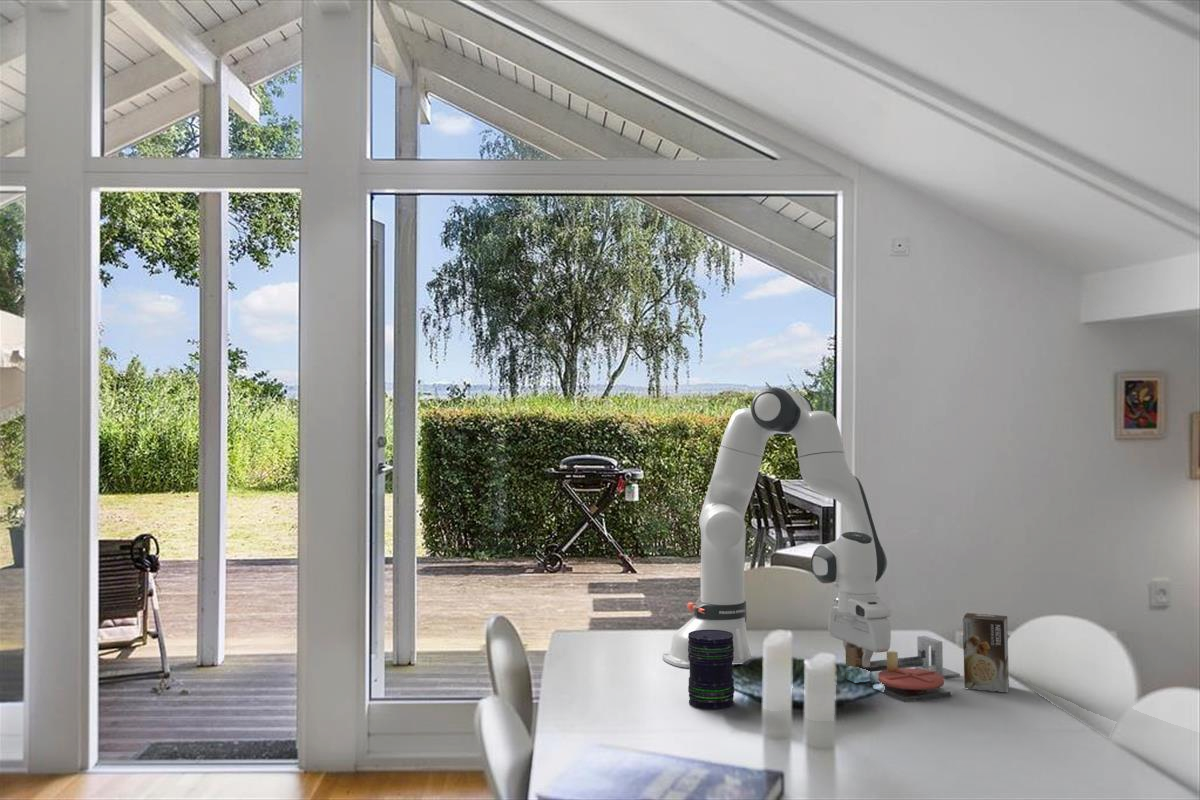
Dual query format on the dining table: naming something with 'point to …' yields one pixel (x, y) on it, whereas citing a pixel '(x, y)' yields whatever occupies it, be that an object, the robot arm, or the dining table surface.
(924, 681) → the handwheel
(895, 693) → the wheel base
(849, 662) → the hook
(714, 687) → the storage jar
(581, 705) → the dining table surface
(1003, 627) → the coffee box
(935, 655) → the eye bracket
